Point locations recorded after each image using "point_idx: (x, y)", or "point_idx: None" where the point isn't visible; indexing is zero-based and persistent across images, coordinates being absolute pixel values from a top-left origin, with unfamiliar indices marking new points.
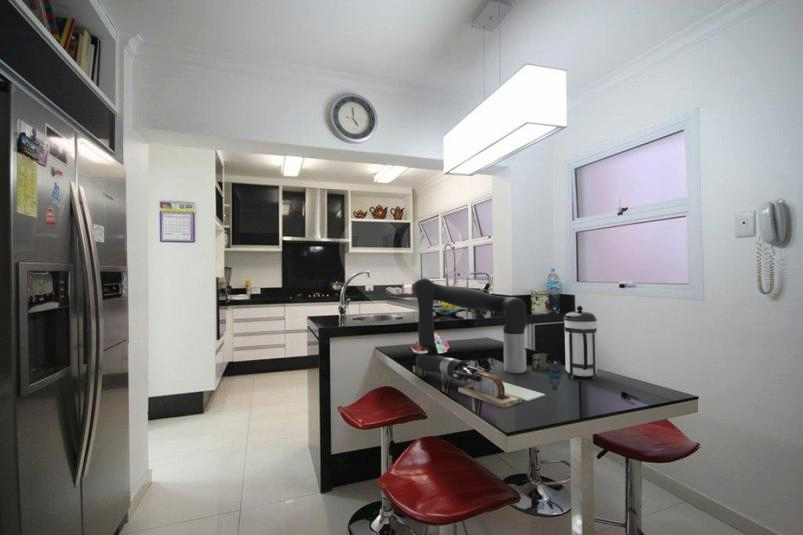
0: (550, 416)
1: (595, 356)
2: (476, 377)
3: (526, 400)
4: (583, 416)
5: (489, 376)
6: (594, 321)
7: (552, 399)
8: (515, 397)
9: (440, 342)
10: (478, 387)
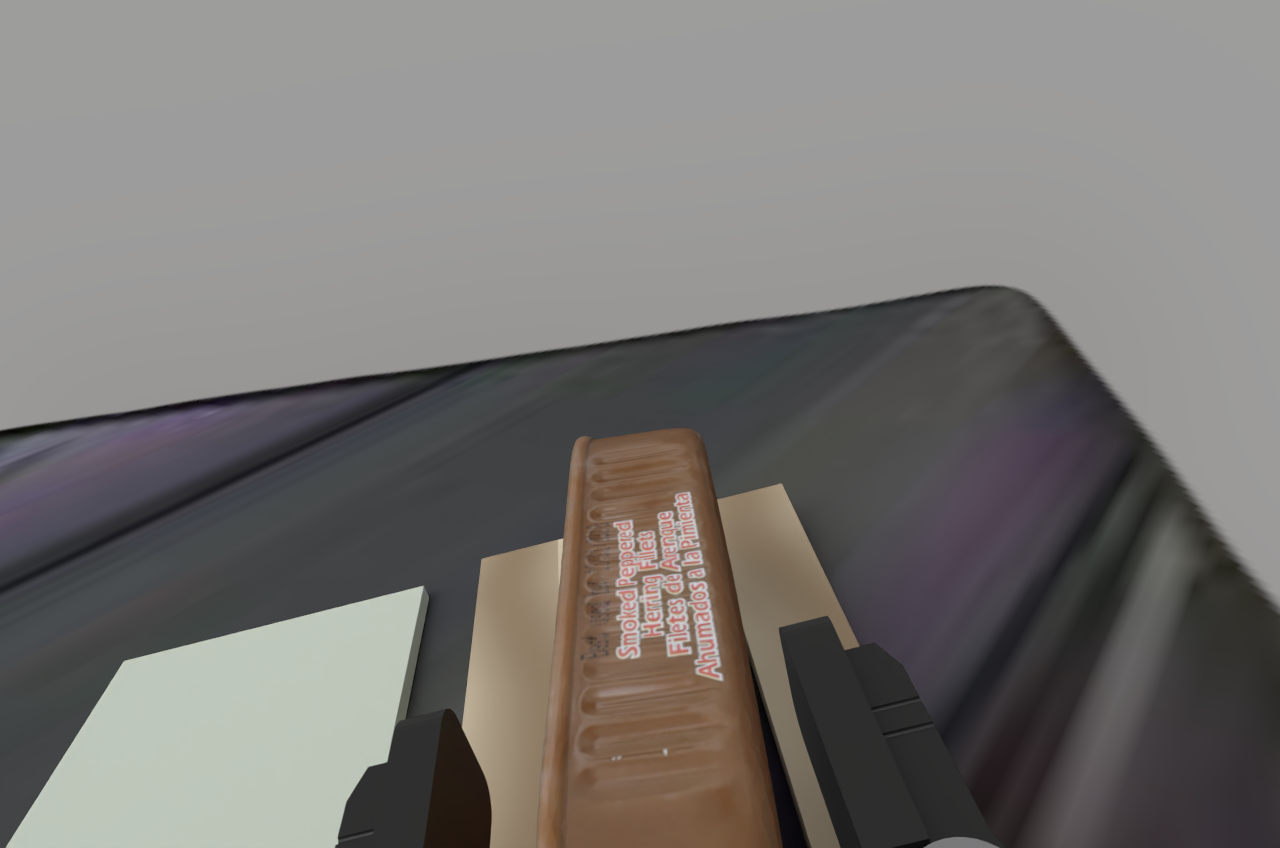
0: (587, 390)
1: None
2: (892, 662)
3: (425, 604)
4: (433, 379)
5: (677, 483)
6: None
7: (218, 586)
8: (526, 576)
9: None
10: None
